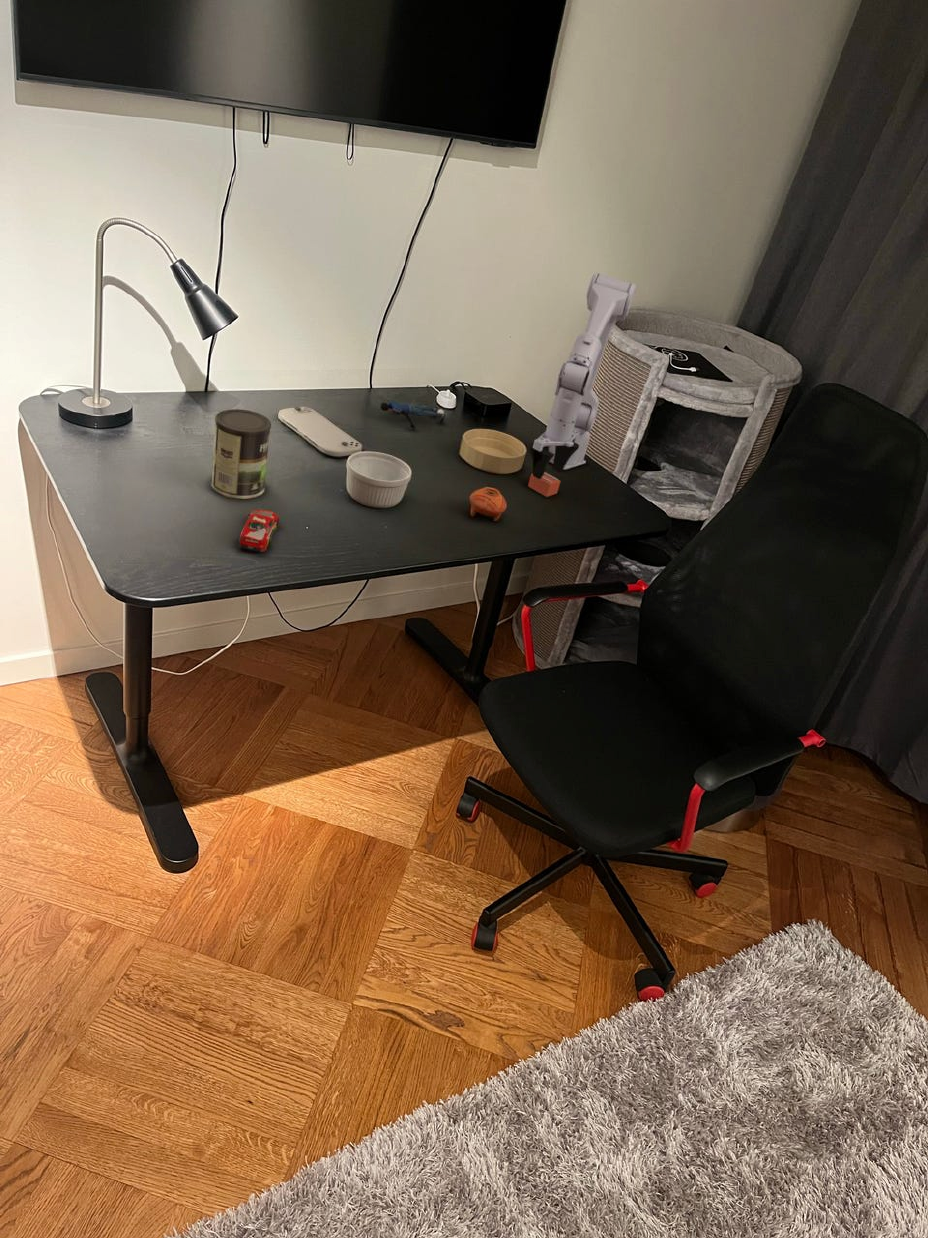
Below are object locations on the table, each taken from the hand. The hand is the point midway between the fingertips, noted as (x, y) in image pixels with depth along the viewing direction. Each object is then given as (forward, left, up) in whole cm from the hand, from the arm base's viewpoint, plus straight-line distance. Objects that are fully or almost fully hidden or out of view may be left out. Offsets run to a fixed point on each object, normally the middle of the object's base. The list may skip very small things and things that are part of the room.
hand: (546, 473), depth 206 cm
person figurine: (+3, -40, -4) cm, 40 cm away
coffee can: (+62, -30, -4) cm, 69 cm away
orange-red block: (0, 0, -4) cm, 4 cm away
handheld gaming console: (+31, -42, -4) cm, 52 cm away
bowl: (0, -16, -4) cm, 17 cm away
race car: (+70, -13, -4) cm, 71 cm away
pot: (+23, +2, -4) cm, 23 cm away
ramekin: (+39, -15, -4) cm, 42 cm away
